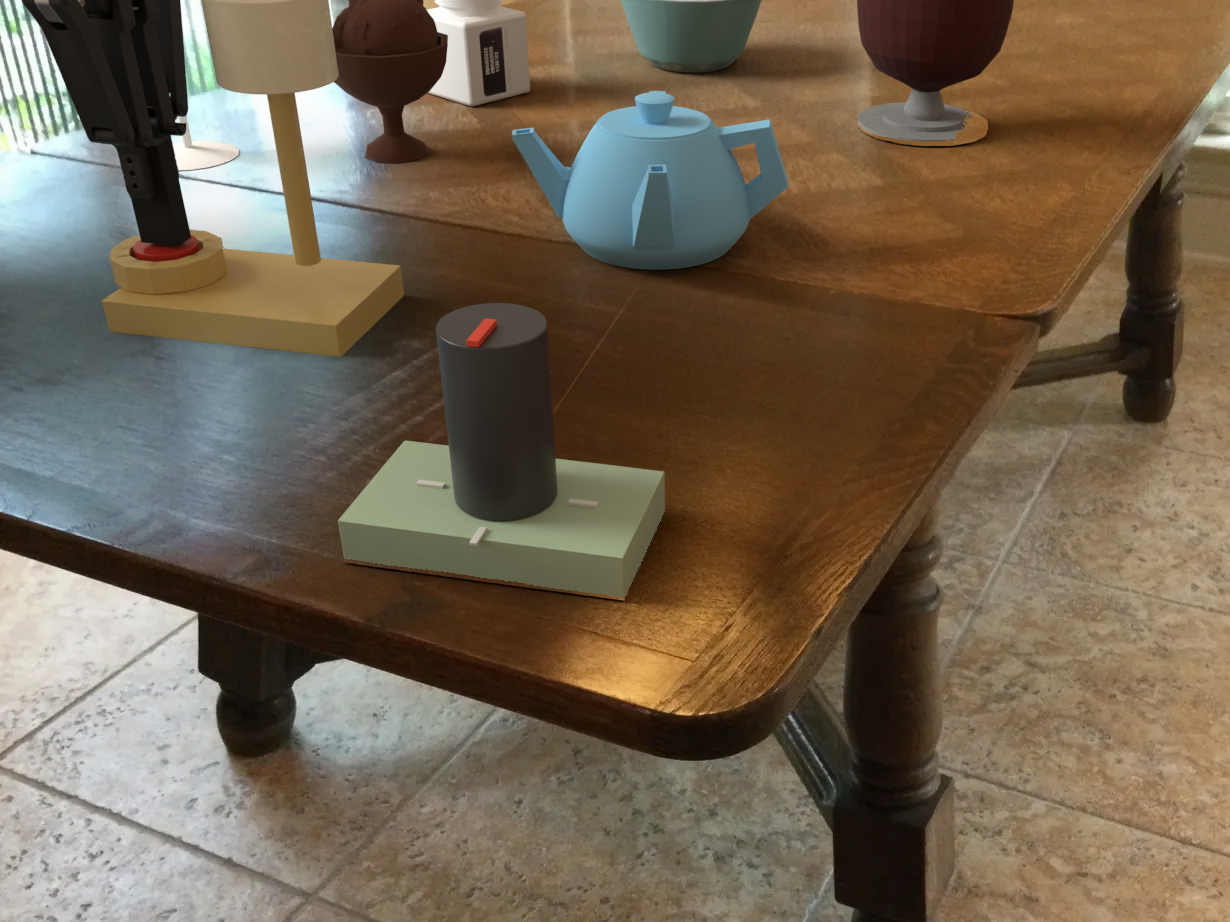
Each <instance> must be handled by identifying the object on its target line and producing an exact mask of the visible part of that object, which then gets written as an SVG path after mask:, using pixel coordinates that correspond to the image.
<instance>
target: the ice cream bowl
mask: <svg viewBox="0 0 1230 922" xmlns="http://www.w3.org/2000/svg"><path fill="white" fill-rule="evenodd" d="M347 2H348V6H347V7H345V8H343V9H342V10H341V12H340V13H339V14H338V15H337V16H336V18H335V20H334V23H333V24H332V30H333V37H334V45H335V52H336V59H337V66H338V73H339V76H338V78H337V80H335V81H334V82H333V83H334V84H335V85H337V86H338V87H339V88H340V89H341V90H342V91H343V92H344V93H346V94H347V95H349V96H351V97H353V98H354V99H356V100H358V101H360V102H362V103H365V104H368V105H370V106H373V107H376V108H377V109H378V111H379V113H380V114H381V116H382V125H383V133H382V134H381V135H379V136H378V137H377V138H375V139H373V140H372V141H371V142H369V143H367V145H366V150H365V156H364V157H365V158H366V159H369V160H370V161H373V162H376V163H389V164H399V163H400V164H401V163H406V162H413V161H417V160H419V159H422V158H424V157H426V156H428V151H427V149H428V146H427V144H426V142H425V141H423V140H420V139H418V138H416V137H415V136H413V135H411V134H409V133H407V132H405V126H404V120H403V119H404V118H403V112H404V109H405V107H406V106H407V105H410V104H412V103H414V102H417V101H418V100H420V99H421V98H423V97H424V96H425V95H427V94H429V93H428V92H429V91H430V90H431V89H432V88H433V86H434V85H435V84H436V83H437V82H438V80H439V79H440V78H441V76H442V73H443V70H444V67H445V64H446V58H447V47H448V35H446V34H443V33H439V32H437V28H436V25H435V21H434V19H433V18H432V17H431V15H430V14H429V13H428V11H427V8H426V7H425V6H424V2H425V1H424V0H347Z"/></svg>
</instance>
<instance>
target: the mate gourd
mask: <svg viewBox="0 0 1230 922" xmlns="http://www.w3.org/2000/svg"><path fill="white" fill-rule="evenodd" d="M1014 2H1015V0H856V9H857V22H858V24H857V25H858V31H859V38H860V42H861V46H862V47H863V49H864V50H865V52H866V54H867V56H868V58H869V60H870V61H871V63H872V64H873V66H874V67H875V69H876V70H878V72H880V73H882V74H884V75H886V76H888V77H890V78H892V79H895V80H896V81H898V82H900V83H903V84H904V85H905V86H907V87H909V88H910V89H911V91H910V94H909V95H908V98H907V100H906V101H903V102H889V103H883V104H877V105H874V106H870V107H867V108H866V109H864V110H862V111H861V112H860V113H858V115H857V121H858V124H859V126H861V127H862V128H863V129H864V130H867V131H868V132H871V133H873V134H876V135H879V136H883V137H888V138H893V139H897V140H905V141H906V140H907V141H920V142H924V141H926V142H927V141H946V140H954V139H956V136H957V134H956V133H957V131H959V132H961V130H964V129H963V128H965V125H964V124H963V122H964V123H966V122H965V121H964V120H965V119H964V118H967V117H966V116H968V117H970V118H972V117H971V116H973V115H971V114H970V113H969V111H968V112H965V111H967V110H966V109H967V108H963V107H959V106H955V105H950V104H944V101H943V98H942V93H941V91H942V90H943V89H946V88H948V87H951V86H954V85H956V84H960V83H962V82H965V81H969V80H971V79H975V78H977V77H978V76H980V75H981V74H982V73H983V71H985V70H986V68H987V67H988V66H989V65H990V64H991V62H992V61H993V60H994V59H995V58H996V57H997V55H998V54H999V53H1000V52H1001V50H1002V47H1003V44H1004V42H1005V39H1006V36H1007V33H1008V30H1009V25H1010V22H1011V18H1012V15H1013V11H1014ZM962 109H963V110H962ZM964 110H965V111H964ZM968 114H969V115H968ZM970 115H971V116H970ZM967 119H968V118H967ZM966 124H968V123H966ZM962 127H963V128H962ZM969 128H970V127H969ZM956 130H957V131H956ZM952 134H953V135H952ZM954 135H955V136H954ZM960 138H961V137H960Z"/></svg>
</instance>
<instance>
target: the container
mask: <svg viewBox="0 0 1230 922" xmlns="http://www.w3.org/2000/svg"><path fill="white" fill-rule="evenodd" d="M503 2H504V0H434V3H435V4H436V5H438V7H433V8H428V9H427V8H426V10H427V11H428V13H429V14H430V15H431V17H432V18H433V19H434V21H435V25H436V28H437V32H439V33H443V34H446V35H448V47H447V58H446V64H445V67H444V70H443V73H442V76H441V78H440V79H439V80H438V82H437V83H436V84H435V85H434V86H433V88H432V89H431V90H430V91H429V92H428V93H427V94H429V95H433V96H436V97H438V98H443V99H445V100H448V101H451V102H452V101H453V102H455V103H458V104H461V105H466V106H468V107H477V106H480V105H484V104H489V103H492V102H496V101H500V100H504V99H509V98H512V97H515V96H520V95H524V94H527V93H529V92H530V91H531V77H530V64H529V48H528V47H529V46H528V32H527V31H528V30H527V15H526V13H525V12H524V11H522V10H519V9H514V8H511V7H510V8H509V7H506V6H502V5H501V4H502V3H503Z"/></svg>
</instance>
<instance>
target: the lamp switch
mask: <svg viewBox="0 0 1230 922" xmlns="http://www.w3.org/2000/svg"><path fill="white" fill-rule="evenodd" d="M133 250H134V254H135V258H136V259H138V260H142V261H152V262H160V261H170V260H177V259H180V258H184V257H187V256H190V255H194V254H195V253H197V252H198V251H200V249H199V244H198V240H197V238H196V237H194V236H192V235H191V238H190V239H189V240H187V241H186V242H184V243H183V244H181V245H180V246H175V245H164V244H154V243H143V242H141V240H139V241H138V242H136V243H135V244H134V246H133Z"/></svg>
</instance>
